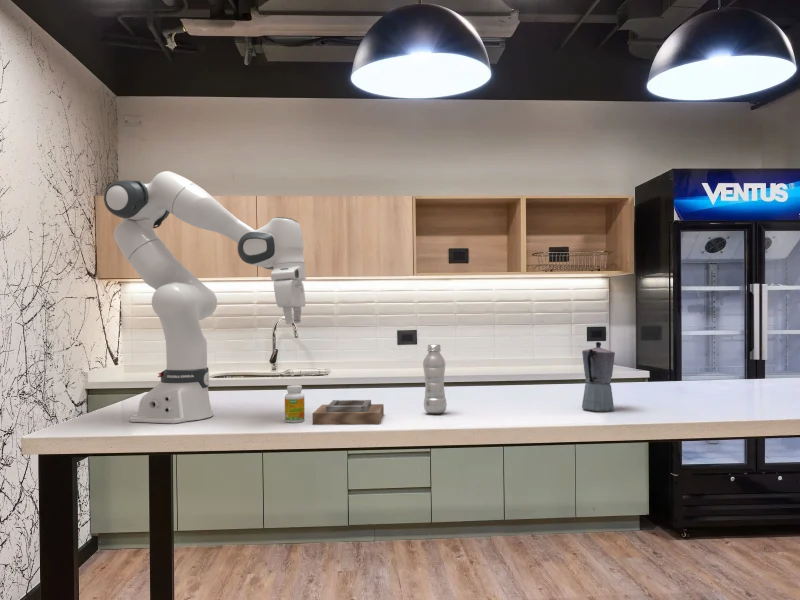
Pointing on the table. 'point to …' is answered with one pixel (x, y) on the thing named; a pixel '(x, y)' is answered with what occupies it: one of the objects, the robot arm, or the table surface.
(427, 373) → the plastic bottle
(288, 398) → the supplement bottle
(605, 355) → the moka pot
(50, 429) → the table surface
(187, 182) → the robot arm
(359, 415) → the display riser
